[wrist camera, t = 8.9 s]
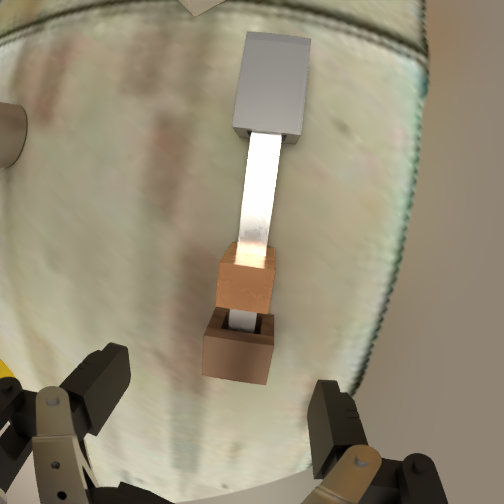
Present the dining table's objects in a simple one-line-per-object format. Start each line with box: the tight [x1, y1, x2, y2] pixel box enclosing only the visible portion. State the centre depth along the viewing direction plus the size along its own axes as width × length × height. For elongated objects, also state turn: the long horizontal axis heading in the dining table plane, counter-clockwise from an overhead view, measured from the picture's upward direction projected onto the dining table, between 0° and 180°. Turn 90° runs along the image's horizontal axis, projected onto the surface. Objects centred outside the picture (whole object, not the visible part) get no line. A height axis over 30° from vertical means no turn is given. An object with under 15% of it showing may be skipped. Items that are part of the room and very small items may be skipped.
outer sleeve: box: [232, 32, 311, 144], centre depth 22 cm, size 5×9×5 cm, turn 173°
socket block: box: [202, 307, 274, 385], centre depth 27 cm, size 6×4×6 cm
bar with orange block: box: [215, 131, 282, 334], centre depth 24 cm, size 4×20×7 cm, turn 173°
